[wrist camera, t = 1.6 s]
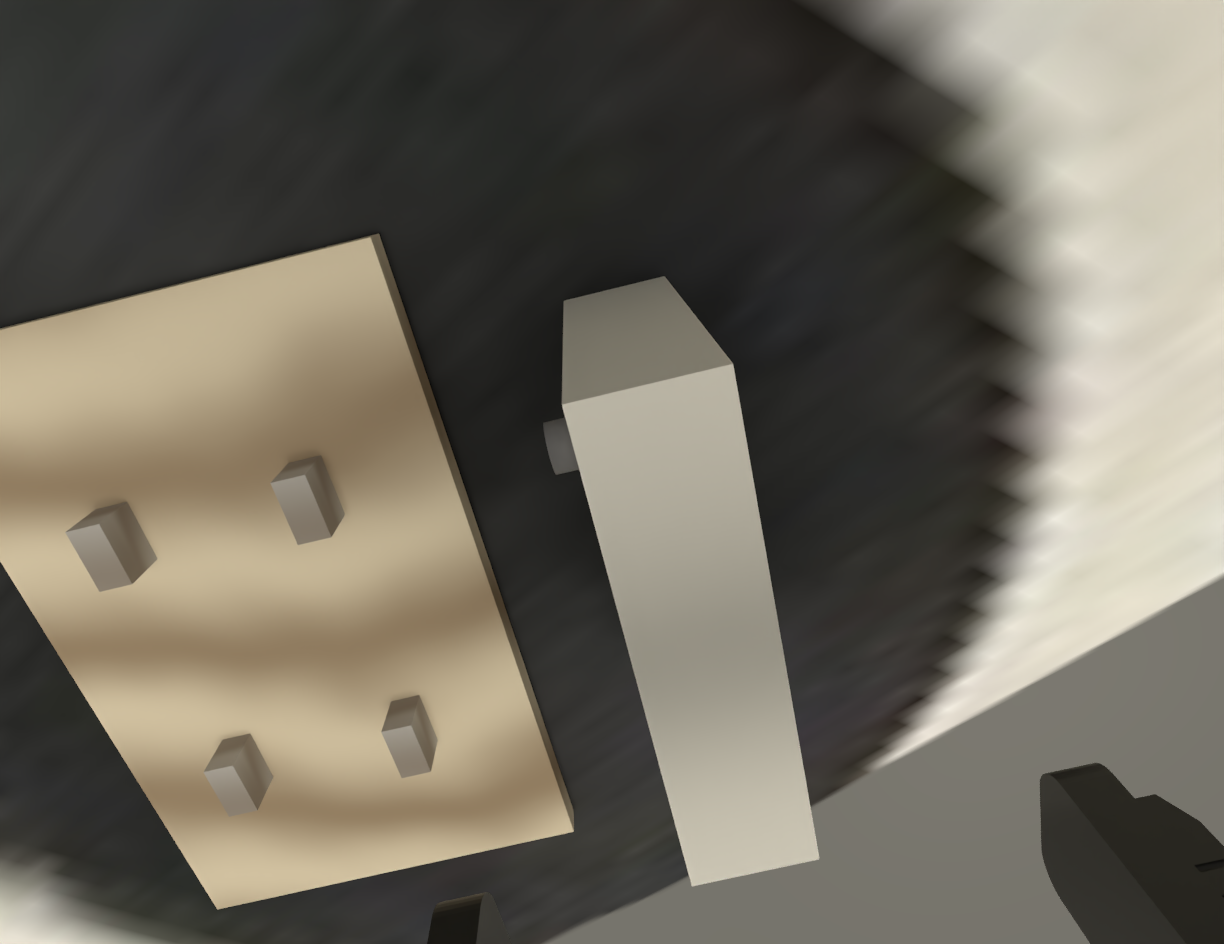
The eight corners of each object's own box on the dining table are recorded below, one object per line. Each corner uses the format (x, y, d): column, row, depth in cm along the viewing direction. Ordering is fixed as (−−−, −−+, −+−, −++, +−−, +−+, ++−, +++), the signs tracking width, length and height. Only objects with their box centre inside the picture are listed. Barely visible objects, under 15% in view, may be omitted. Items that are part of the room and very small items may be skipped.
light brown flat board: (-96, 352, 22) (-174, 375, 20) (379, 233, 21) (356, 243, 19) (228, 886, 30) (200, 946, 28) (573, 810, 30) (574, 865, 28)
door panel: (537, 307, 22) (516, 415, 13) (664, 275, 22) (733, 363, 13) (626, 640, 27) (658, 893, 18) (733, 616, 27) (819, 859, 18)
